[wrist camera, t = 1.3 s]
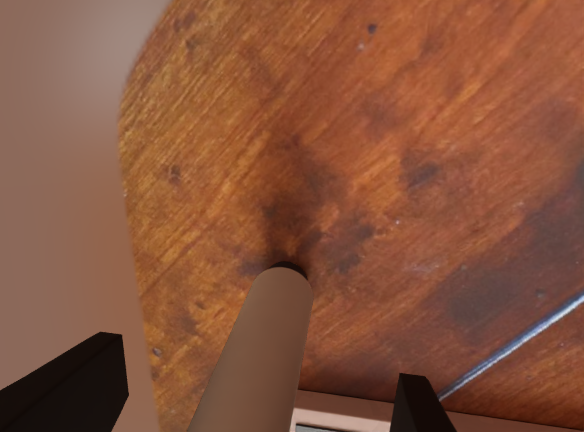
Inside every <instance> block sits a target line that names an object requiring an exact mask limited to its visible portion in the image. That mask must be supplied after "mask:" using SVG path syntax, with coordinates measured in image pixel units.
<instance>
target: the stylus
mask: <svg viewBox="0 0 584 432" xmlns="http://www.w3.org/2000/svg"><path fill="white" fill-rule="evenodd" d="M312 305H313V291H312V288H311V286H310V284H309V283H308V279H307V276H306V274H305V272H304V271H303V270H302V269H301V268H300V267H299V266H298V265H296V264H294V263H291V262H279V263H276V264H274V265H272V266H271V267H270V268H269V269H268V270H265V271H263V272H262V273H260V274H259V275H258V276H257V277H256V278H255V280H254V281H253V283H252V286H251V288H250V290H249V292H248V295H247V297H246V299H245V301H244V304H243V306H242V308H241V310H240V313H239V315H238V317H237V319H236V322H235V324H234V326H233V328H232V331H231V333H230V335H229V337H228V340H227V342H226V344H225V346H224V349H223V351H222V353H221V355H220V358H219V360H218V362H217V364H216V367H215V369H214V371H213V373H212V376H211V378H210V380H209V382H208V385H207V387H206V389H205V391H204V394H203V396H202V398H201V400H200V403H199V405H198V407H197V409H196V412H195V414H194V416H193V418H192V421H191V423H190V425H189V427H188V430H187V432H290V426H291V421H292V415H293V410H294V404H295V399H296V393H297V388H298V382H299V377H300V371H301V366H302V360H303V355H304V349H305V344H306V338H307V333H308V327H309V322H310V316H311V310H312Z"/></svg>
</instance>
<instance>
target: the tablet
mask: <svg viewBox="0 0 584 432" xmlns="http://www.w3.org/2000/svg"><path fill="white" fill-rule="evenodd" d="M393 408H394V403H387V402H380V401H373V400H366V399H359V398H353V397H346V396H339V395H332V394H325V393H318V392H311V391H304V390H297V393H296V399H295V404H294V410H293V415H292V421H291V426H290V432H389V431H390V425H391V419H392V414H393ZM445 412H446V413H447V415H448V417H449V419H450V420H451V422H452V424H453V426H454V427H455V429H456V431H457V432H584V431H581V430H574V429H567V428H560V427H553V426H546V425H539V424H532V423H525V422H518V421H512V420H505V419H498V418H491V417H484V416H477V415H470V414H463V413H456V412H449V411H445Z"/></svg>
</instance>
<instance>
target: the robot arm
mask: <svg viewBox="0 0 584 432" xmlns="http://www.w3.org/2000/svg"><path fill="white" fill-rule="evenodd" d="M128 396H129V392H128V384H127V375H126V365H125V357H124V348H123V340H122V335H121V334H113V333H106V332H99V333H97V334H95V335H93V336H92V337H90V338H88V339H86V340H85V341H83V342H81V343H80V344H78V345H76V346H75V347H73V348H71V349H70V350H68V351H66V352H65V353H63V354H62V355H60V356H58V357H57V358H55V359H54V360H52V361H50V362H48V363H47V364H45V365H43V366H42V367H40V368H38V369H37V370H35V371H33V372H32V373H30V374H28V375H27V376H25V377H23V378H21V379H20V380H18V381H16V382H14V383H13V384H11V385H9V386H7V387H5V388H3V389H2V390H0V432H111V431H112V429H113V427H114V425H115V423H116V421H117V419H118V417H119V415H120V413H121V411H122V409H123V407H124V404H125V402H126V400H127V398H128ZM389 432H457V431H456V429H455V427H454V426H453V424H452V422H451V420H450V419H449V417H448V415H447V413H446V412H445V410H444V408H443V406H442V405H441V403H440V401H439V399H438V397H437V395H436V394H435V392H434V390H433V388H432V386H431V384H430V382H429V380H428V379H427V378H426V377H425V376H419V375H411V374H404V373H400V374H399V380H398V385H397V391H396V397H395V402H394V408H393V414H392V419H391V425H390V431H389Z"/></svg>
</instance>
